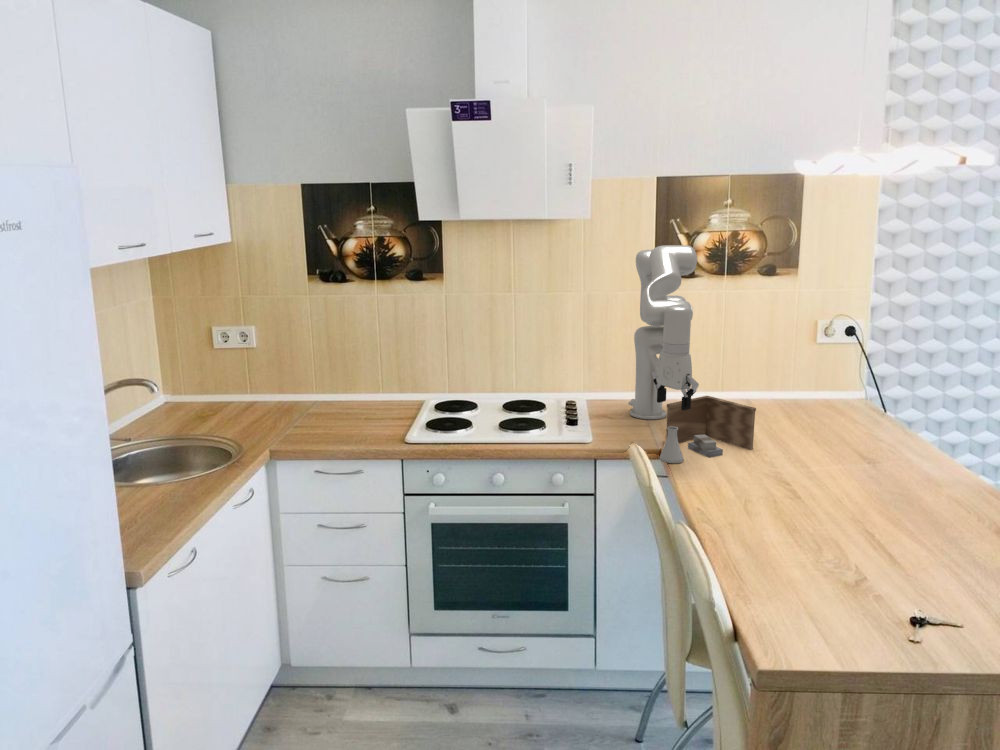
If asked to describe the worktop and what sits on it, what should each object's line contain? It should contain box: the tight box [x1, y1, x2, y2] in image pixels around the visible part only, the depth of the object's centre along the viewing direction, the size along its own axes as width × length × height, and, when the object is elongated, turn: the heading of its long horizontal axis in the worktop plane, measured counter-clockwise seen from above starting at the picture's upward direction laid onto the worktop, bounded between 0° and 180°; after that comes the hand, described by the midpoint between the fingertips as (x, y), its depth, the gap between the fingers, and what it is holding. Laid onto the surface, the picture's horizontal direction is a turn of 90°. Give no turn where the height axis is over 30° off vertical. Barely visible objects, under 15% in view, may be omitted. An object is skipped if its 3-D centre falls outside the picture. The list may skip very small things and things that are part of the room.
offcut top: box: [693, 435, 717, 450], centre depth 260 cm, size 8×4×2 cm, turn 11°
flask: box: [658, 426, 685, 464], centre depth 252 cm, size 7×7×10 cm
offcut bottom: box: [687, 441, 724, 458], centre depth 260 cm, size 10×5×2 cm, turn 26°
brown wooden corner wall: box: [665, 395, 757, 451], centre depth 264 cm, size 19×18×13 cm
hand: (673, 405), depth 249 cm, fingers open, 9 cm apart
